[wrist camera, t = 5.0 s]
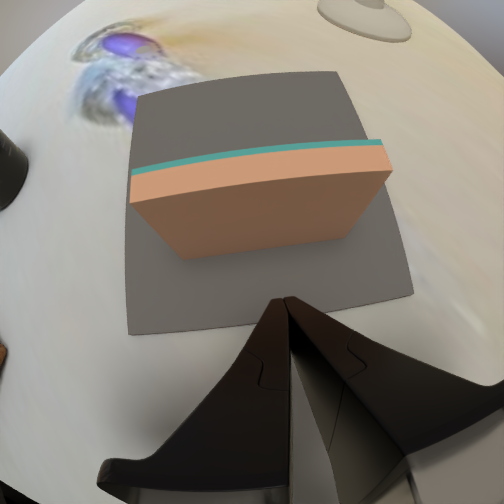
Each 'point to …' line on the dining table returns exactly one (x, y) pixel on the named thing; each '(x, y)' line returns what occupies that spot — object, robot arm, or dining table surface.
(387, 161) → the tile
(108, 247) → the dining table surface
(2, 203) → the supplement bottle
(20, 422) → the dining table surface
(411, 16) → the dining table surface
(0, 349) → the ceramic shard
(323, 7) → the candlestick
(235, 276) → the mat
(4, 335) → the dining table surface
